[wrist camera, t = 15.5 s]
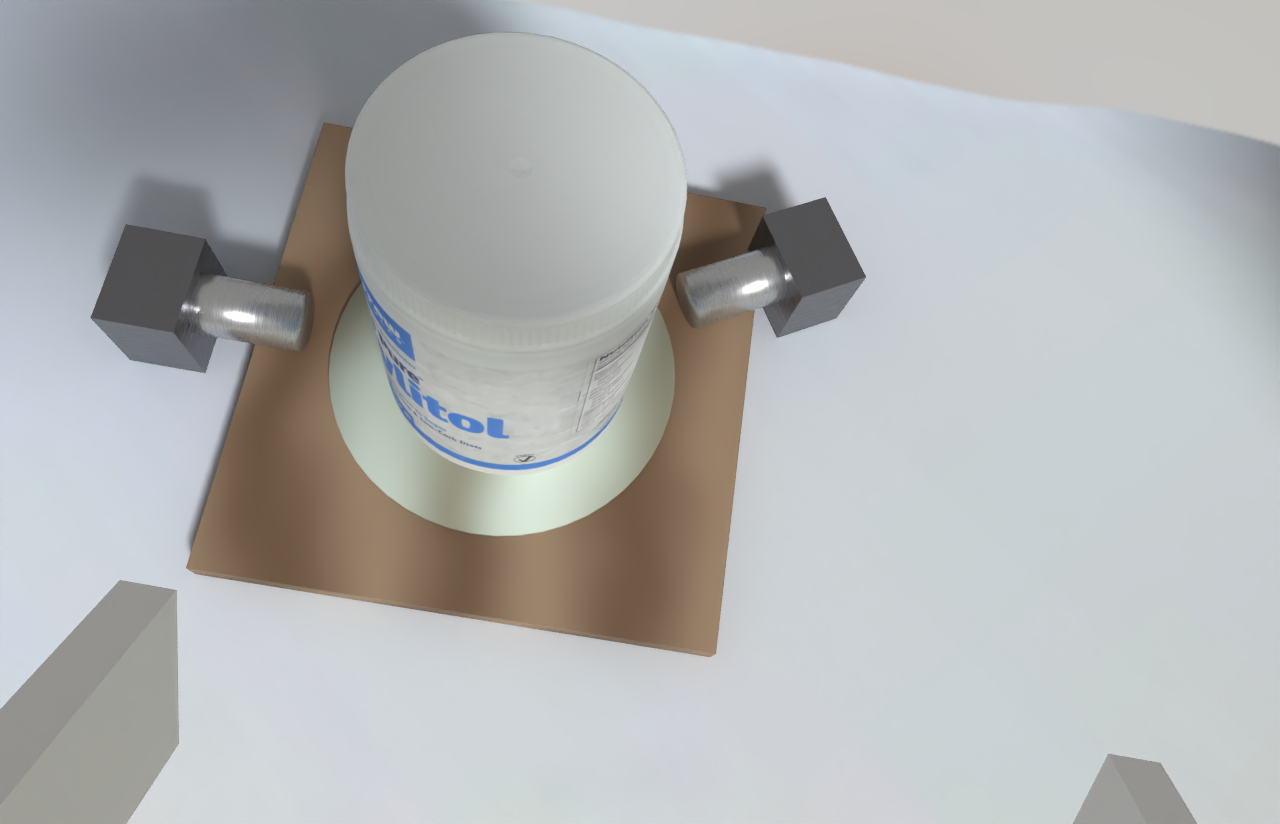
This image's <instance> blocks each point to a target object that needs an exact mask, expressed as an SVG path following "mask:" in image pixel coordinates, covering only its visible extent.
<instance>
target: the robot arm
mask: <svg viewBox="0 0 1280 824" xmlns="http://www.w3.org/2000/svg"><path fill="white" fill-rule="evenodd" d="M178 744H179V725H178V655H177V590H173V589H167V588H162V587H156V586H150V585H145V584H139V583H133V582H128V581H122V580H120V581H119V582H118V583H117V584H116V585H115V586H114V587H113V588H112V589H111V590H110V591H109V593H108V594H107V595H106V596H105V597H104V598H103V599H102V600H101V601H100V602H99V603H98V604H97V606H96V607H95V608H94V609H93V610H92V611H91V612H90V613H89V614H88V615H87V616H86V617H85V618H84V620H83V621H82V622H81V623H80V624H79V625H78V626H77V627H76V628H75V629H74V630H73V631H72V633H71V634H70V635H69V636H68V637H67V638H66V639H65V640H64V641H63V642H62V643H61V644H60V645H59V647H58V648H57V649H56V650H55V651H54V652H53V653H52V654H51V655H50V656H49V657H48V658H47V660H46V661H45V662H44V663H43V664H42V665H41V666H40V667H39V668H38V669H37V670H36V671H35V672H34V674H33V675H32V676H31V677H30V678H29V679H28V680H27V681H26V682H25V683H24V684H23V685H22V687H21V688H20V689H19V690H18V691H17V692H16V693H15V694H14V695H13V696H12V697H11V698H10V699H9V701H8V702H7V703H6V704H5V705H4V706H3V707H2V708H1V709H0V824H126V823H127V822H128V820H129V819H130V817H131V816H132V814H133V813H134V811H135V810H136V808H137V806H138V805H139V803H140V802H141V800H142V799H143V797H144V796H145V794H146V793H147V791H148V790H149V788H150V787H151V785H152V784H153V782H154V780H155V779H156V777H157V776H158V774H159V773H160V771H161V770H162V768H163V767H164V765H165V764H166V762H167V761H168V759H169V758H170V756H171V754H172V753H173V751H174V750H175V748H176V747H177V745H178ZM1073 824H1197V823H1196V821H1195V819H1194V818H1193V816H1192V814H1191V813H1190V811H1189V809H1188V808H1187V806H1186V804H1185V803H1184V801H1183V799H1182V798H1181V796H1180V794H1179V793H1178V791H1177V789H1176V788H1175V786H1174V784H1173V783H1172V781H1171V779H1170V778H1169V776H1168V774H1167V773H1166V771H1165V770H1164V768H1163V766H1162V765H1161V763H1158V762H1152V761H1146V760H1141V759H1135V758H1129V757H1123V756H1118V755H1112V754H1108V756H1107V758H1106V759H1105V761H1104V763H1103V765H1102V767H1101V769H1100V771H1099V773H1098V775H1097V777H1096V779H1095V781H1094V783H1093V785H1092V787H1091V789H1090V791H1089V793H1088V795H1087V797H1086V799H1085V801H1084V803H1083V805H1082V807H1081V809H1080V811H1079V813H1078V815H1077V817H1076V819H1075V821H1074V823H1073Z"/></svg>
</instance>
